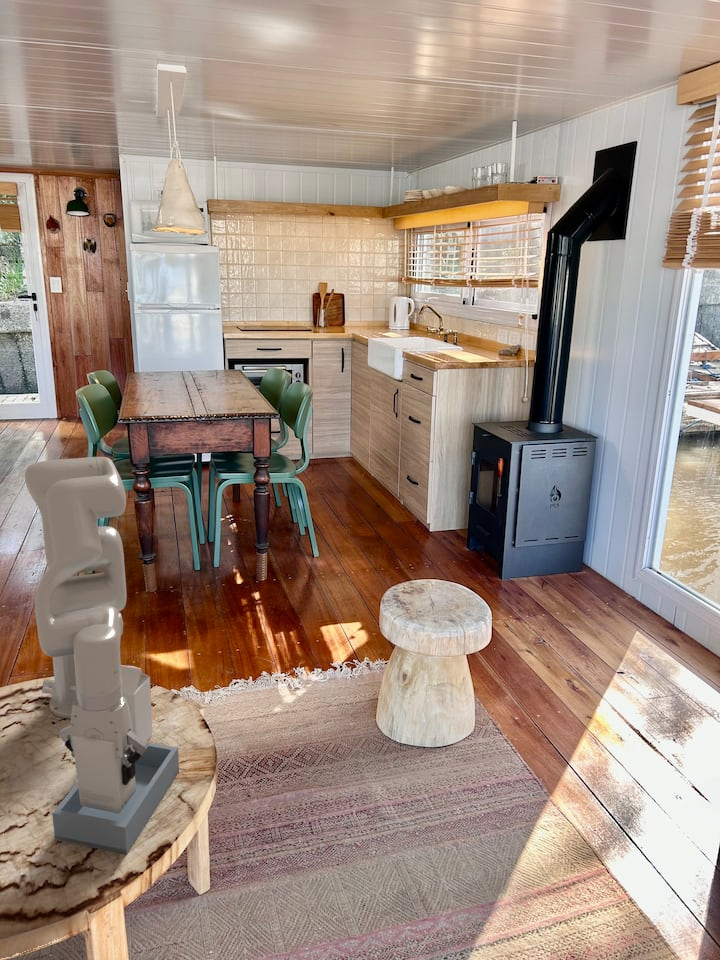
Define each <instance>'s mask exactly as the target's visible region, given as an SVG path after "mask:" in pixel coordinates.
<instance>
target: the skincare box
mask: <svg viewBox="0 0 720 960" xmlns="http://www.w3.org/2000/svg"><path fill="white" fill-rule="evenodd" d="M72 741H73V749H74V757H75V758H74V757H73V758H74V764H76V766H75V771H76V780H77V782H78V789H79V797H80V804H81V806H84V807H89V808H94V809H99V810H104V811H109V812H114V813H120V812H121V811H122V809H123V808H124V807H125V805H126V804H127V802H128V801H129V800H130V798H131V797H132V795H133V794H134V793H135V791H136V783H135V776H134V777H133V779H131V780H130V781H129V783H128V784H127V785H123V783H122V766H123V765H124V764H123V762H122V761H121V758H120V759H116V758H115V742H114V741H105V740H98V739H90V738H84V737H79V736H72ZM131 746H132V744H131ZM117 749H118V748H117ZM125 754H126V755H127V757H128V756H129V755H128V753H127V750H126V752H125Z"/></svg>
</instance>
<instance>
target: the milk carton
mask: <svg viewBox="0 0 720 960" xmlns="http://www.w3.org/2000/svg"><path fill="white" fill-rule="evenodd" d="M142 672H143V671H142V667H141V668H140V667H137V666H133V665H123V664H121V675H122V691H123V697H125V698H126V700H127V703H128V706H129V710H130V714H131V720H132V727H133V733H134V734H136V735H137V736H139V737H140V738H141V739H143V740H144V741H146V742H149V740H150V738H152V736H153V717H152V695H151V694H152V693H151V690H152V689H151V676H150V675H147V674H145V673H144V672H143V673H142Z"/></svg>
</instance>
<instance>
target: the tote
mask: <svg viewBox="0 0 720 960" xmlns="http://www.w3.org/2000/svg"><path fill="white" fill-rule="evenodd" d="M147 743H148V744H149V746H148V747H147V749H146V750H145V751H144V753H143V754H142V755H141V757H140V758H139V759H138V760H137V761H136V762H135V783H136V791H135V793H134V794H133V795H132V797H131V798H130V800H129V801H128V802H127V804H126V805H125V807H124V808H123V809H122V811H121V812H120V813H114V812H109V811H104V810H99V809H94V808H89V807H84V806H81V804H80V797H79V789H78V781H77V782H76V783H75V785H74V786H73V787H71V788H72V789H70V791H69V792H68V793H67V795H66V796H64V798H63V799H62V800H61V802H60V803H59V804H58V806H57V807H56V808H55V810H53V812H52V813H51V814H52V823H53V833H54V840H55V841H58V842H63V843H67V844H72V845H73V844H74V845H79V846H82V847H88V848H91V849H92V848H94V849H96V848H97V850H103V851H106V852H111V853H117V854H123V855H128V854H129V852H130V851H131V849H132V847H133V846H134V844H135V842H136V841H137V839H138V838H139V837H140V836H141V835H140V834H141V833H142V831H144V828H145V827H146V825H147V823H148V822H149V820H150V818H151V817H152V816H153V814H154V812H155V810H156V809H157V808H158V806H159V804H160V803H161V801H162V800H163V798H164V796H165V795H166V793H167V792H168V790H169V789H170V787H171V786H172V784H173V782H174V781H175V779H176V777H177V776H178V774H179V772H180V764H179V760H180V759H179V758H180V757H179V747H176V746H171V745H165V744H159V743H154V742H149V741H147ZM132 747H133V749H134V750H135V751H136V750H137V748H136V747H135V746H133V745H132Z"/></svg>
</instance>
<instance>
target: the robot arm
mask: <svg viewBox="0 0 720 960" xmlns="http://www.w3.org/2000/svg"><path fill="white" fill-rule="evenodd" d="M24 480H25V485H26V489H27V491H28V493H29V495H30V496H31V498H32V500H33V502H34V503H35V504H36V507H37V508H38V511H39V513H40V515H41V521H42V530H43V531H42V532H43V541H44V551H45V559H46V564H47V567H48V569H47V570H46V572H45V573H44V574H43V576H42V577H41V579H40V581H39V583H38V586H37V589H36V592H35V595H34V597H35V598H34V613H35V621H36V628H37V630H36V631H37V637H38V641H39V642H38V643H39V645H40V649H41V651H42V652H43V654H45V655H46V656H48V657H51V658H52V665H53V677H54V679H48V678H45V679H43V682H42V689H41V693H43V694H49V695H51V698H50V700H49V703H48V704H49V709H50V711H51V713H52V714H53V715H55V716H57V717H59V718H63V719H70V725H67V726H66V727H63V728H61V730H60V731H59V732H58V736H59V738H60V739H61V740H62V741H63V742H64V746H65V747H66V748H67V749H68V750H69V752H71V754H70V755H71V757H72V758H74V759H75V757H74V749H73V741H72V736H79V737H84V738H90V739H98V740H105V741H114V742H115V758H116V759H120V758H121V761H122V762H123V764H124V765H123V766H122V783H123V785H127V784H128V783H129V781H130V780H131V779H133V777H134V776H135V762H136V761H137V760H138V759H139V758H140V757H141V755H142V754H143V753H144V751H145V750H146V749H147V747H148V746H149V744H148V743H147V742H148V741H147V742H146V741H144V740H143V739H141V738H140V737H139V736H137V735H136V734H134V733H133V727H132V720H131V714H130V710H129V706H128V703H127V700H126V698H125V697H123V691H122V675H121V665H122V663H121V662H122V661H121V659H122V658H121V638H122V635H123V633H124V621H123V620H124V619H123V616H122V613H121V611H123V610H124V608H125V607H126V604H127V596H128V595H127V582H126V581H127V580H126V570H125V568H126V567H125V553H124V546H123V541H122V537H121V535H120V533H119V531H118V530H117V528H114V527H113V526H108V525H106V526H105V525H104V526H102V525H100V526H99V525H98V520H99V519H106V518H117V517H120V516H122V515H123V514H124V512H125V511H126V508H127V507H126V506H127V496H126V495H127V493H126V490H125V486H124V483H123V480H122V478H121V476H120V474H119V472H118V470H117V468H116V466H115V464H114V461H112V459H111V458H110V457H106V456H89V457H88V456H87V457H78V458H61V459H60V458H59V459H50V460H43V461H37V462H34V463H32V464H30V465H28V466H27V467H26V468H25V471H24ZM92 571H103V572H96V573H91V574H90V573H89V574H81V575H75V574H78V573H86V572H92ZM74 575H75V576H74ZM131 744H132V745H133V746H135V747H136V748H137V750H136V751H135V750H134V749H133V747H132V746H131ZM117 748H118V749H117ZM126 750H127V753H128V755H129V756H128V757H127V755H126V754H125V752H126ZM74 764H75V763H74ZM74 766H75V767H76V764H75V765H74Z"/></svg>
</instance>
